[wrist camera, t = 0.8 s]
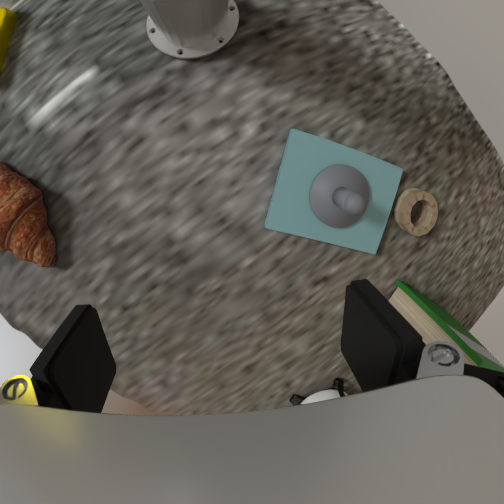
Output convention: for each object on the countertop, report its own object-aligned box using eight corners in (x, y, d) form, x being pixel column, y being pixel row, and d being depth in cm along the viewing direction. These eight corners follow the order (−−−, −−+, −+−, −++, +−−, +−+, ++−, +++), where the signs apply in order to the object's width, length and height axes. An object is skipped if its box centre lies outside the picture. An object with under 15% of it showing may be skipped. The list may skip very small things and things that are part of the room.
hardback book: (373, 312, 51) (444, 406, 28) (397, 278, 49) (483, 361, 26) (425, 338, 55) (487, 413, 33) (445, 310, 53) (516, 379, 31)
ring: (401, 183, 43) (412, 186, 40) (432, 196, 44) (442, 199, 41) (388, 224, 45) (398, 229, 42) (419, 234, 46) (429, 240, 43)
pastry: (-11, 242, 39) (-36, 259, 32) (-8, 158, 34) (-38, 165, 27) (58, 265, 42) (35, 286, 35) (66, 171, 37) (38, 179, 30)
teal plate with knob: (290, 129, 39) (305, 126, 31) (398, 168, 42) (427, 174, 34) (264, 225, 43) (273, 243, 36) (371, 251, 46) (395, 271, 39)
